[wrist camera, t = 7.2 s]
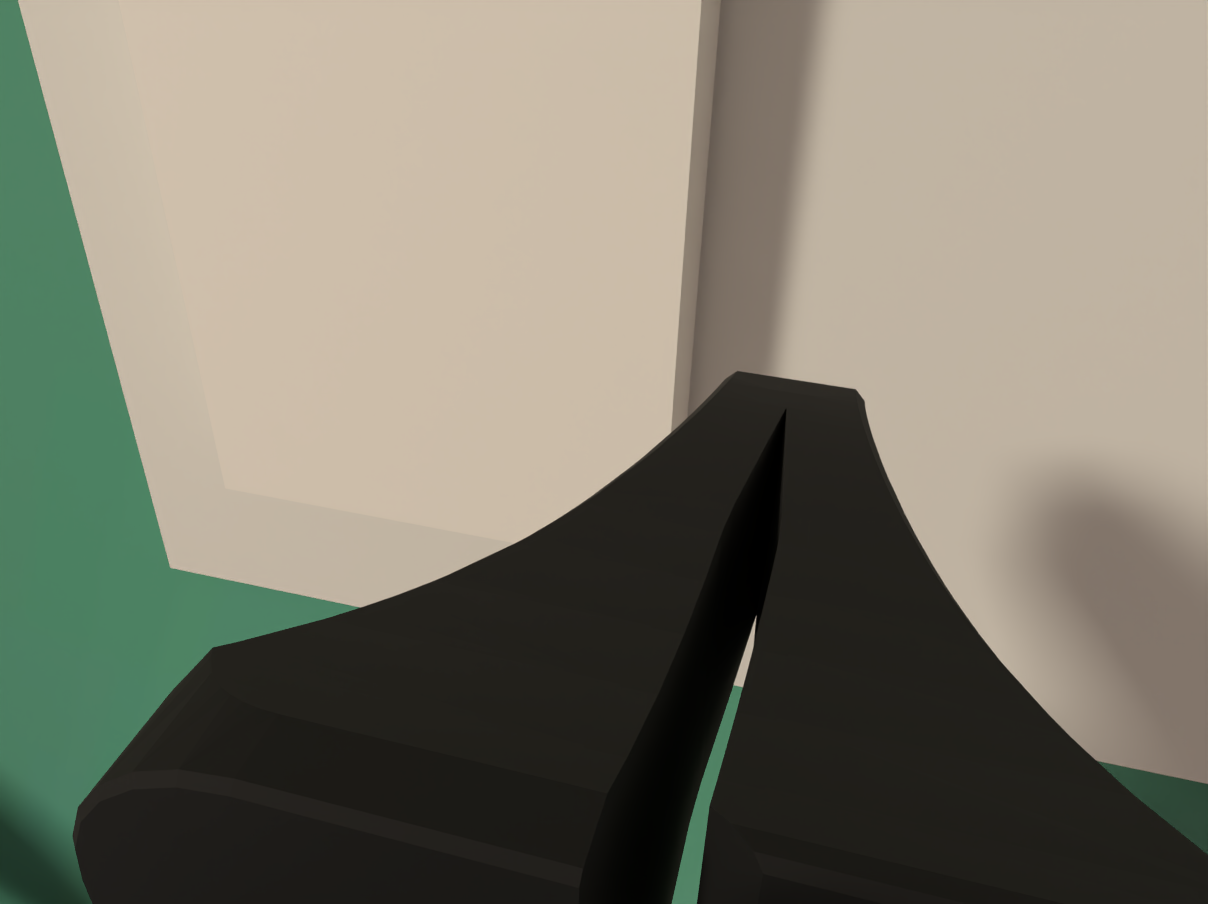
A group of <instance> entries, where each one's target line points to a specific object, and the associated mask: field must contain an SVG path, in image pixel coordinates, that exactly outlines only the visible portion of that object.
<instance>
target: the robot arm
mask: <svg viewBox="0 0 1208 904" xmlns="http://www.w3.org/2000/svg"><path fill="white" fill-rule="evenodd" d="M755 618H756V625H755V635H754V646H753V651H752V655H751V658H750V662H749V666H748V670H747V674H746V678H745V681H744V685H743V689H742V693H741V697H740V701H739V704H738V708H737V712H736V716H735V719H734V723H733V726H732V730H731V733H730V737H729V741H728V744H727V748H726V751H725V755H724V758H723V762H722V765H721V769H720V773H719V776H718V780H717V783H716V786H715V790H714V793H713V797H712V800H711V803H710V808H709V815H708V823H707V831H706V839H705V846H704V854H703V862H702V869H701V877H700V885H699V893H698V900H697V904H1208V855H1207V854H1206V853H1205V852H1203V851H1202V850H1201V849H1200V848H1198V847H1197V846H1196V845H1195V844H1194V843H1192V842H1191V841H1190V840H1189V839H1187V838H1186V837H1185V836H1184V835H1182V834H1181V833H1180V832H1179V831H1177V830H1176V829H1175V828H1174V827H1172V826H1171V825H1170V824H1169V823H1168V822H1166V821H1165V820H1164V819H1163V818H1161V817H1160V816H1159V815H1158V814H1156V813H1155V812H1154V811H1153V810H1151V809H1150V808H1149V807H1148V806H1146V805H1145V804H1144V803H1143V802H1141V801H1140V800H1139V799H1138V798H1137V797H1135V796H1134V795H1133V794H1132V793H1131V792H1130V791H1129V790H1127V789H1126V788H1125V787H1124V786H1123V785H1122V784H1121V783H1120V782H1119V781H1117V780H1116V779H1115V778H1114V777H1113V776H1112V775H1111V774H1110V773H1109V772H1108V771H1107V770H1106V769H1105V768H1104V767H1102V766H1101V765H1100V764H1099V763H1098V762H1097V761H1096V760H1095V759H1094V758H1093V757H1092V756H1091V755H1090V754H1089V753H1087V752H1086V751H1085V750H1084V749H1083V748H1082V747H1081V746H1080V745H1079V744H1078V743H1077V742H1076V741H1075V740H1074V739H1073V738H1071V737H1070V736H1069V735H1068V734H1067V733H1066V732H1065V730H1064V729H1063V728H1062V727H1061V726H1060V725H1059V724H1058V723H1057V722H1056V721H1055V720H1054V719H1053V718H1052V717H1051V716H1050V715H1049V714H1048V713H1047V712H1046V711H1045V710H1044V709H1043V708H1042V707H1041V705H1040V704H1039V703H1038V702H1037V701H1036V700H1035V699H1034V698H1033V697H1032V695H1031V694H1030V693H1029V692H1028V691H1027V690H1026V689H1025V688H1024V687H1023V686H1022V684H1021V683H1020V682H1019V681H1018V680H1017V679H1016V678H1015V677H1014V676H1013V674H1012V673H1011V672H1010V671H1009V670H1008V669H1007V668H1006V667H1005V666H1004V664H1003V663H1002V662H1001V661H1000V660H999V658H998V657H997V656H996V655H995V653H994V652H993V651H992V650H991V648H990V647H989V646H988V644H987V643H986V642H985V641H984V639H983V638H982V637H981V636H980V634H979V633H978V632H977V630H976V629H975V627H974V626H973V625H972V623H971V622H970V620H969V619H968V618H967V616H966V615H965V613H964V612H963V611H962V609H961V608H960V606H959V605H958V604H957V602H956V601H955V599H954V598H953V596H952V595H951V593H950V592H949V590H948V589H947V587H946V585H945V584H944V582H943V581H942V579H941V577H940V576H939V574H938V573H937V571H936V569H935V568H934V566H933V564H932V563H931V561H930V559H929V557H928V556H927V554H926V552H925V550H924V549H923V547H922V545H921V543H920V542H919V540H918V538H917V536H916V534H915V533H914V531H913V529H912V527H911V525H910V523H909V521H908V519H907V517H906V515H905V513H904V511H903V509H902V507H901V504H900V502H899V500H898V498H897V496H896V493H895V491H894V489H893V487H892V485H891V483H890V480H889V478H888V476H887V474H886V471H885V469H884V466H883V464H882V461H881V459H880V456H879V453H878V450H877V447H876V445H875V442H874V439H873V436H872V433H871V429H870V426H869V422H868V418H867V414H866V409H865V401H864V399H863V398H862V397H861V395H860V394H859V393H858V391H857V390H856V389H852V388H845V387H839V386H832V385H826V384H819V383H813V382H806V381H800V380H793V379H787V378H780V377H774V376H767V375H761V374H754V373H748V372H741V371H736V372H735V373H733V374H732V375H730V376H729V377H727V378H726V379H725V380H724V381H723V382H722V383H721V384H720V385H719V386H718V387H717V388H716V390H715V391H714V392H713V393H712V394H711V395H710V396H709V397H708V398H707V399H706V400H705V401H704V402H703V403H702V404H701V405H700V406H699V407H698V408H697V409H696V410H695V411H694V412H693V413H692V414H691V415H690V416H689V417H687V418H686V419H685V420H684V421H683V422H682V423H681V424H680V425H679V426H678V427H677V428H676V429H675V430H673V431H672V432H671V433H670V434H669V435H668V436H667V437H665V438H664V439H663V440H662V441H661V442H660V443H658V444H657V445H656V446H655V447H654V448H653V449H652V450H650V451H649V452H648V453H647V454H646V455H645V456H644V457H642V458H641V459H640V460H639V461H637V462H636V463H635V464H634V465H632V466H631V467H630V468H628V469H627V470H626V471H624V472H623V473H622V474H620V475H619V476H618V477H616V478H615V479H614V480H612V481H611V482H610V483H608V484H607V485H606V486H604V487H603V488H602V489H600V490H599V491H598V492H596V493H595V494H594V495H592V496H591V497H590V498H588V499H587V500H585V501H584V502H582V503H581V504H579V505H578V506H576V507H575V508H573V509H572V510H570V511H569V512H567V513H566V514H564V515H563V516H561V517H560V518H558V519H556V520H555V521H553V522H552V523H550V524H548V525H547V526H545V527H543V528H541V529H540V530H538V531H536V532H535V533H533V534H531V535H530V536H528V537H526V538H524V539H522V540H520V541H518V542H517V543H515V544H512V545H510V546H508V547H506V548H504V549H502V550H500V551H498V552H495V553H493V554H491V555H489V556H487V557H485V558H483V559H481V560H478V561H476V562H474V563H472V564H470V565H468V566H466V567H464V568H461V569H459V570H457V571H455V572H453V573H451V574H449V575H447V576H444V577H442V578H439V579H437V580H435V581H432V582H430V583H427V584H424V585H422V586H419V587H417V588H414V589H411V590H409V591H406V592H404V593H401V594H398V595H396V596H393V597H390V598H387V599H384V600H381V601H378V602H375V603H373V604H370V605H367V606H364V607H361V608H358V609H355V610H352V611H349V612H346V613H342V614H339V615H336V616H333V617H330V618H326V619H323V620H319V621H315V622H312V623H308V624H304V625H300V626H297V627H293V628H289V629H285V630H281V631H278V632H274V633H270V634H266V635H263V636H259V637H255V638H251V639H247V640H244V641H240V642H236V643H231V644H227V645H222V646H218V647H214V648H212V649H211V650H210V651H209V652H208V653H207V654H206V656H205V657H204V658H203V659H202V660H201V661H200V662H199V663H198V664H197V665H196V666H195V667H194V668H193V669H192V670H191V671H190V672H189V674H188V675H187V676H186V677H185V678H184V679H183V680H182V681H181V682H180V683H179V684H178V685H177V686H176V687H175V688H174V689H173V690H172V692H171V693H170V694H169V695H168V696H167V698H166V699H165V700H164V701H163V703H162V704H161V705H160V706H159V708H158V709H157V710H156V711H155V713H154V714H153V715H152V716H151V718H150V719H149V720H148V721H147V723H146V724H145V725H144V726H143V727H142V729H141V730H140V731H139V732H138V734H137V735H136V736H135V737H134V739H133V740H132V741H131V742H130V744H129V745H128V746H127V747H126V749H125V750H124V751H123V752H122V753H121V755H120V756H119V757H118V758H117V760H116V761H115V762H114V763H113V765H112V766H111V767H110V768H109V770H108V771H107V772H106V773H105V775H104V776H103V777H102V778H101V779H100V781H99V782H98V783H97V784H96V786H95V787H94V788H93V789H92V791H91V792H90V793H89V794H88V796H87V797H86V798H85V799H84V801H83V802H82V803H81V804H80V805H79V807H78V810H77V816H76V821H75V826H74V831H73V840H74V846H75V850H76V855H77V859H78V863H79V867H80V871H81V875H82V879H83V882H84V884H85V887H86V889H87V892H88V894H89V896H90V899H91V901H92V903H93V904H671V903H672V899H673V894H674V890H675V885H676V881H677V876H678V872H679V867H680V863H681V858H682V854H683V849H684V845H685V840H686V836H687V831H688V827H689V823H690V819H691V816H692V812H693V809H694V805H695V801H696V798H697V794H698V791H699V787H700V784H701V781H702V778H703V775H704V772H705V769H706V766H707V763H708V760H709V757H710V754H711V751H712V748H713V745H714V742H715V739H716V736H717V733H718V730H719V727H720V724H721V721H722V718H723V715H724V712H725V709H726V706H727V703H728V700H729V697H730V694H731V691H732V688H733V685H734V682H735V679H736V676H737V673H738V670H739V667H740V664H741V661H742V658H743V655H744V652H745V648H746V645H747V642H748V639H749V636H750V633H751V630H752V627H753V624H754V621H755Z"/></svg>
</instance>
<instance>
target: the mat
mask: <svg viewBox="0 0 1208 904" xmlns="http://www.w3.org/2000/svg"><path fill="white" fill-rule="evenodd" d="M18 2H19V6H20V9H21V13H22V17H23V21H24V24H25V28H26V32H27V35H28V39H29V43H30V47H31V50H32V54H33V58H34V62H35V65H36V69H37V73H38V76H39V80H40V84H41V88H42V91H43V95H44V99H45V102H46V106H47V110H48V114H49V117H50V121H51V125H52V129H53V132H54V136H55V140H56V143H57V147H58V151H59V155H60V158H61V162H62V166H63V170H64V173H65V177H66V181H67V184H68V188H69V192H70V196H71V199H72V203H73V207H74V210H75V214H76V218H77V222H78V225H79V229H80V233H81V237H82V240H83V244H84V248H85V251H86V255H87V259H88V263H89V266H90V270H91V274H92V278H93V281H94V285H95V289H96V292H97V296H98V300H99V304H100V307H101V311H102V315H103V318H104V322H105V326H106V330H107V333H108V337H109V341H110V345H111V348H112V352H113V356H114V359H115V363H116V367H117V371H118V374H119V378H120V382H121V386H122V389H123V393H124V397H125V400H126V404H127V408H128V412H129V415H130V419H131V423H132V426H133V430H134V434H135V438H136V441H137V445H138V449H139V453H140V456H141V460H142V464H143V467H144V471H145V475H146V479H147V482H148V486H149V490H150V494H151V497H152V501H153V505H154V508H155V512H156V516H157V520H158V523H159V527H160V531H161V534H162V538H163V542H164V546H165V549H166V553H167V557H168V561H169V564H170V568H174V569H179V570H184V571H189V572H193V573H198V574H203V575H208V576H213V577H217V578H222V579H227V580H232V581H237V582H241V583H246V584H251V585H256V586H261V587H265V588H270V589H275V590H280V591H284V592H289V593H294V594H299V595H304V596H308V597H313V598H318V599H323V600H328V601H332V602H337V603H342V604H347V605H352V606H356V607H364V606H367V605H370V604H373V603H375V602H378V601H381V600H384V599H387V598H390V597H393V596H396V595H398V594H401V593H404V592H406V591H409V590H411V589H414V588H417V587H419V586H422V585H424V584H427V583H430V582H432V581H435V580H437V579H439V578H442V577H444V576H447V575H449V574H451V573H453V572H455V571H457V570H459V569H461V568H464V567H466V566H468V565H470V564H472V563H474V562H476V561H478V560H481V559H483V558H485V557H487V556H489V555H491V554H493V553H495V552H498V551H500V550H502V549H504V548H506V547H508V546H510V545H512V544H515V543H511V542H505V541H500V540H495V539H490V538H484V537H479V536H474V535H468V534H463V533H458V532H453V531H447V530H442V529H437V528H432V527H426V526H421V525H416V524H410V523H405V522H400V521H395V520H389V519H384V518H379V517H373V516H368V515H363V514H358V513H352V512H347V511H342V510H336V509H331V508H326V507H321V506H315V505H310V504H305V503H299V502H294V501H289V500H284V499H278V498H273V497H268V496H263V495H257V494H252V493H247V492H241V491H236V490H231V489H226V488H225V485H224V481H223V476H222V472H221V467H220V462H219V458H218V453H217V449H216V444H215V440H214V435H213V430H212V426H211V421H210V417H209V412H208V408H207V403H206V398H205V394H204V389H203V385H202V380H201V376H200V371H199V366H198V362H197V357H196V353H195V348H194V344H193V339H192V334H191V330H190V325H189V321H188V316H187V312H186V307H185V302H184V298H183V293H182V289H181V284H180V280H179V275H178V270H177V266H176V261H175V257H174V252H173V248H172V243H171V238H170V234H169V229H168V225H167V220H166V216H165V211H164V206H163V202H162V197H161V193H160V188H159V184H158V179H157V174H156V170H155V165H154V161H153V156H152V152H151V147H150V142H149V138H148V133H147V129H146V124H145V120H144V115H143V110H142V106H141V101H140V97H139V92H138V88H137V83H136V78H135V74H134V69H133V65H132V60H131V56H130V51H129V46H128V42H127V37H126V33H125V28H124V24H123V19H122V14H121V10H120V5H119V1H118V0H18ZM736 371H741V372H748V373H754V374H761V375H767V376H774V377H780V378H787V379H793V380H800V381H806V382H813V383H819V384H826V385H832V386H839V387H845V388H852V389H856V390H857V391H858V393H859V394H860V395H861V397H862V398H863V399H864V401H865V409H866V414H867V418H868V422H869V426H870V429H871V433H872V436H873V439H874V442H875V445H876V447H877V450H878V453H879V456H880V459H881V461H882V464H883V466H884V469H885V471H886V474H887V476H888V478H889V480H890V483H891V485H892V487H893V489H894V491H895V493H896V496H897V498H898V500H899V502H900V504H901V507H902V509H903V511H904V513H905V515H906V517H907V519H908V521H909V523H910V525H911V527H912V529H913V531H914V533H915V534H916V536H917V538H918V540H919V542H920V543H921V545H922V547H923V549H924V550H925V552H926V554H927V556H928V557H929V559H930V561H931V563H932V564H933V566H934V568H935V569H936V571H937V573H938V574H939V576H940V577H941V579H942V581H943V582H944V584H945V585H946V587H947V589H948V590H949V592H950V593H951V595H952V596H953V598H954V599H955V601H956V602H957V604H958V605H959V606H960V608H961V609H962V611H963V612H964V613H965V615H966V616H967V618H968V619H969V620H970V622H971V623H972V625H973V626H974V627H975V629H976V630H977V632H978V633H979V634H980V636H981V637H982V638H983V639H984V641H985V642H986V643H987V644H988V646H989V647H990V648H991V650H992V651H993V652H994V653H995V655H996V656H997V657H998V658H999V660H1000V661H1001V662H1002V663H1003V664H1004V666H1005V667H1006V668H1007V669H1008V670H1009V671H1010V672H1011V673H1012V674H1013V676H1014V677H1015V678H1016V679H1017V680H1018V681H1019V682H1020V683H1021V684H1022V686H1023V687H1024V688H1025V689H1026V690H1027V691H1028V692H1029V693H1030V694H1031V695H1032V697H1033V698H1034V699H1035V700H1036V701H1037V702H1038V703H1039V704H1040V705H1041V707H1042V708H1043V709H1044V710H1045V711H1046V712H1047V713H1048V714H1049V715H1050V716H1051V717H1052V718H1053V719H1054V720H1055V721H1056V722H1057V723H1058V724H1059V725H1060V726H1061V727H1062V728H1063V729H1064V730H1065V732H1066V733H1067V734H1068V735H1069V736H1070V737H1071V738H1073V739H1074V740H1075V741H1076V742H1077V743H1078V744H1079V745H1080V746H1081V747H1082V748H1083V749H1084V750H1085V751H1086V752H1087V753H1089V754H1090V755H1091V756H1092V757H1093V758H1094V759H1095V760H1096V761H1100V762H1105V763H1110V764H1114V765H1119V766H1124V767H1129V768H1134V769H1138V770H1143V771H1148V772H1153V773H1158V774H1162V775H1167V776H1172V777H1177V778H1182V779H1186V780H1191V781H1196V782H1201V783H1206V784H1208V0H721V5H720V17H719V30H718V42H717V55H716V67H715V80H714V92H713V105H712V117H711V130H710V142H709V155H708V167H707V179H706V192H705V204H704V217H703V229H702V242H701V254H700V267H699V279H698V292H697V304H696V317H695V329H694V342H693V354H692V367H691V379H690V391H689V404H688V416H687V417H689V416H690V415H691V414H692V413H693V412H694V411H695V410H696V409H697V408H698V407H699V406H700V405H701V404H702V403H703V402H704V401H705V400H706V399H707V398H708V397H709V396H710V395H711V394H712V393H713V392H714V391H715V390H716V388H717V387H718V386H719V385H720V384H721V383H722V382H723V381H724V380H725V379H726V378H727V377H729V376H730V375H732V374H733V373H735V372H736ZM755 625H756V618H755V621H754V624H753V627H752V630H751V633H750V636H749V639H748V642H747V645H746V648H745V652H744V655H743V658H742V661H741V664H740V667H739V670H738V673H737V676H736V679H735V682H734V685H735V686H740V687H743V685H744V681H745V678H746V674H747V670H748V666H749V662H750V658H751V655H752V651H753V646H754V635H755Z"/></svg>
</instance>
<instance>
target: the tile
mask: <svg viewBox="0 0 1208 904" xmlns="http://www.w3.org/2000/svg"><path fill="white" fill-rule="evenodd" d="M118 1H119V5H120V10H121V14H122V19H123V24H124V28H125V33H126V37H127V42H128V46H129V51H130V56H131V60H132V65H133V69H134V74H135V78H136V83H137V88H138V92H139V97H140V101H141V106H142V110H143V115H144V120H145V124H146V129H147V133H148V138H149V142H150V147H151V152H152V156H153V161H154V165H155V170H156V174H157V179H158V184H159V188H160V193H161V197H162V202H163V206H164V211H165V216H166V220H167V225H168V229H169V234H170V238H171V243H172V248H173V252H174V257H175V261H176V266H177V270H178V275H179V280H180V284H181V289H182V293H183V298H184V302H185V307H186V312H187V316H188V321H189V325H190V330H191V334H192V339H193V344H194V348H195V353H196V357H197V362H198V366H199V371H200V376H201V380H202V385H203V389H204V394H205V398H206V403H207V408H208V412H209V417H210V421H211V426H212V430H213V435H214V440H215V444H216V449H217V453H218V458H219V462H220V467H221V472H222V476H223V481H224V485H225V488H226V489H231V490H236V491H241V492H247V493H252V494H257V495H263V496H268V497H273V498H278V499H284V500H289V501H294V502H299V503H305V504H310V505H315V506H321V507H326V508H331V509H336V510H342V511H347V512H352V513H358V514H363V515H368V516H373V517H379V518H384V519H389V520H395V521H400V522H405V523H410V524H416V525H421V526H426V527H432V528H437V529H442V530H447V531H453V532H458V533H463V534H468V535H474V536H479V537H484V538H490V539H495V540H500V541H505V542H511V543H517V542H518V541H520V540H522V539H524V538H526V537H528V536H530V535H531V534H533V533H535V532H536V531H538V530H540V529H541V528H543V527H545V526H547V525H548V524H550V523H552V522H553V521H555V520H556V519H558V518H560V517H561V516H563V515H564V514H566V513H567V512H569V511H570V510H572V509H573V508H575V507H576V506H578V505H579V504H581V503H582V502H584V501H585V500H587V499H588V498H590V497H591V496H592V495H594V494H595V493H596V492H598V491H599V490H600V489H602V488H603V487H604V486H606V485H607V484H608V483H610V482H611V481H612V480H614V479H615V478H616V477H618V476H619V475H620V474H622V473H623V472H624V471H626V470H627V469H628V468H630V467H631V466H632V465H634V464H635V463H636V462H637V461H639V460H640V459H641V458H642V457H644V456H645V455H646V454H647V453H648V452H649V451H650V450H652V449H653V448H654V447H655V446H656V445H657V444H658V443H660V442H661V441H662V440H663V439H664V438H665V437H667V436H668V435H669V434H670V433H671V432H672V431H673V430H675V429H676V428H677V427H678V426H679V425H680V424H681V423H682V422H683V421H684V420H685V419H686V418H687V416H688V404H689V391H690V379H691V367H692V354H693V342H694V329H695V317H696V304H697V292H698V279H699V267H700V254H701V242H702V229H703V217H704V204H705V192H706V179H707V167H708V155H709V142H710V130H711V117H712V105H713V92H714V80H715V67H716V55H717V42H718V30H719V17H720V5H721V0H118Z"/></svg>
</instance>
